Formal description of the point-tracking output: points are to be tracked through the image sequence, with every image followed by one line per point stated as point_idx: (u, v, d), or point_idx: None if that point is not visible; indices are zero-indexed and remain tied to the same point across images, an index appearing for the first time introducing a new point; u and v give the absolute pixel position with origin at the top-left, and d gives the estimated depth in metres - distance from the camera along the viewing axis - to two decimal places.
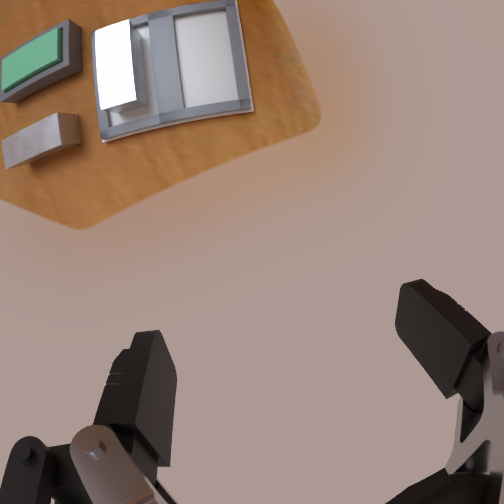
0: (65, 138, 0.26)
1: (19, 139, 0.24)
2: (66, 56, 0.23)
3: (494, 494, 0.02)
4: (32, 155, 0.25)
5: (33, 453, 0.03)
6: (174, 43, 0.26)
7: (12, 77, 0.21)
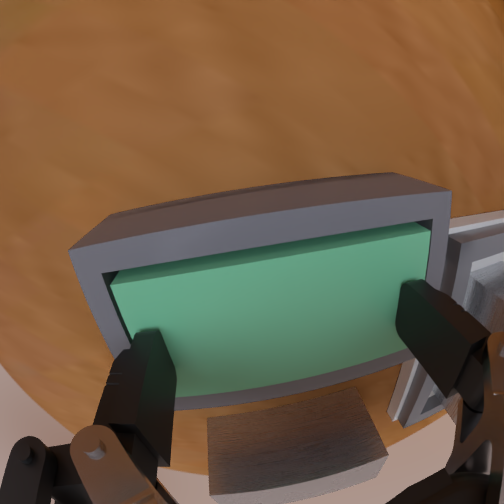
0: None
1: (275, 493, 0.12)
2: None
3: (494, 494, 0.02)
4: (307, 497, 0.13)
5: (34, 454, 0.03)
6: None
7: (213, 376, 0.09)
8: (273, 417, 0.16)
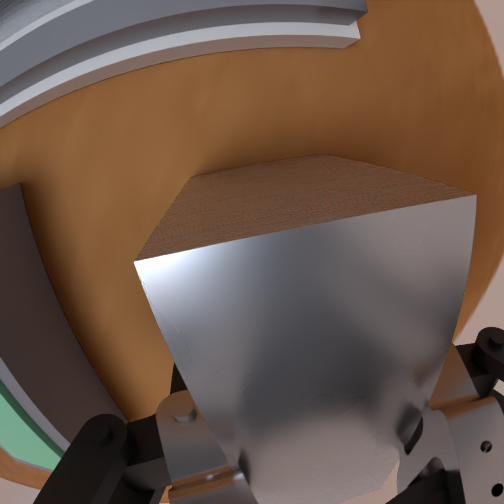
0: (386, 181, 0.04)
1: (294, 488, 0.05)
2: None
3: (494, 494, 0.02)
4: (415, 420, 0.05)
5: (111, 434, 0.04)
6: None
7: (38, 448, 0.07)
8: None
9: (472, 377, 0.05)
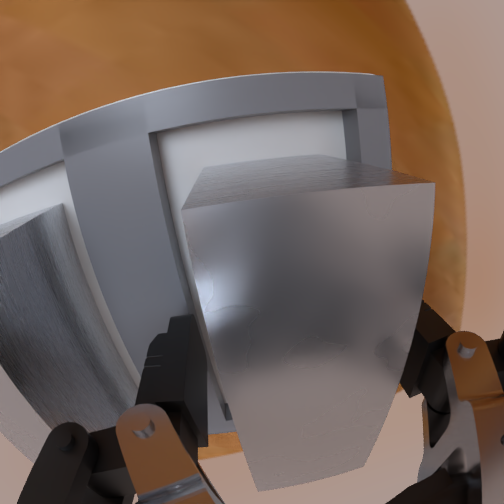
0: (366, 172, 0.05)
1: (283, 450, 0.06)
2: None
3: (494, 494, 0.02)
4: (393, 384, 0.06)
5: (74, 441, 0.04)
6: (173, 266, 0.09)
7: None
8: None
9: (501, 371, 0.04)
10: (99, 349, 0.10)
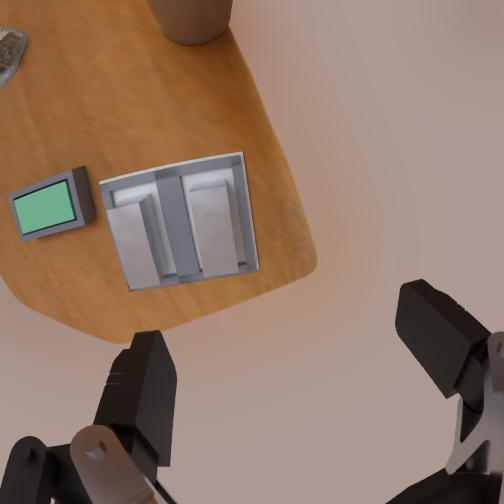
0: (219, 185, 0.31)
1: (208, 248, 0.32)
2: (80, 215, 0.31)
3: (494, 494, 0.02)
4: (230, 228, 0.31)
5: (33, 453, 0.03)
6: (184, 209, 0.35)
7: (31, 224, 0.30)
8: None
9: None
10: (158, 238, 0.35)
